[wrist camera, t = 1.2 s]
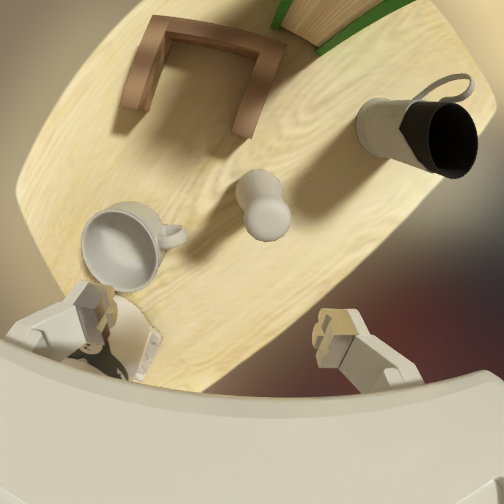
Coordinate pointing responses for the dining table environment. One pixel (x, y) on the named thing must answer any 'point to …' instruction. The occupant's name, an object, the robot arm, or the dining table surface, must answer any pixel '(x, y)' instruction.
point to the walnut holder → (212, 36)
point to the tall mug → (422, 131)
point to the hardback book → (331, 18)
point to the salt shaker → (263, 205)
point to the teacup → (128, 245)
